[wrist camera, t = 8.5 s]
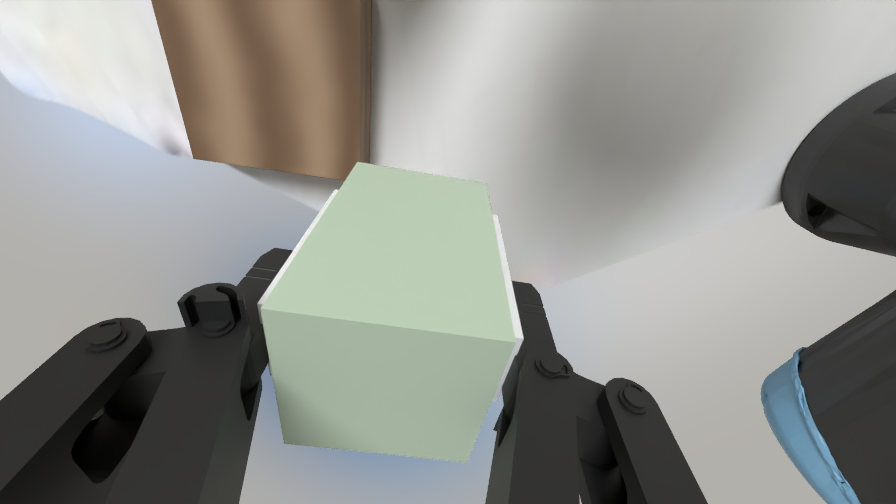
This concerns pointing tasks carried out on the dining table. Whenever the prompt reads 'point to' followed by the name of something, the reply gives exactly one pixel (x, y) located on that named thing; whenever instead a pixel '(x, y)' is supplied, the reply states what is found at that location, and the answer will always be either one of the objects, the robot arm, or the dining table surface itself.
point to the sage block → (392, 319)
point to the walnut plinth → (272, 81)
